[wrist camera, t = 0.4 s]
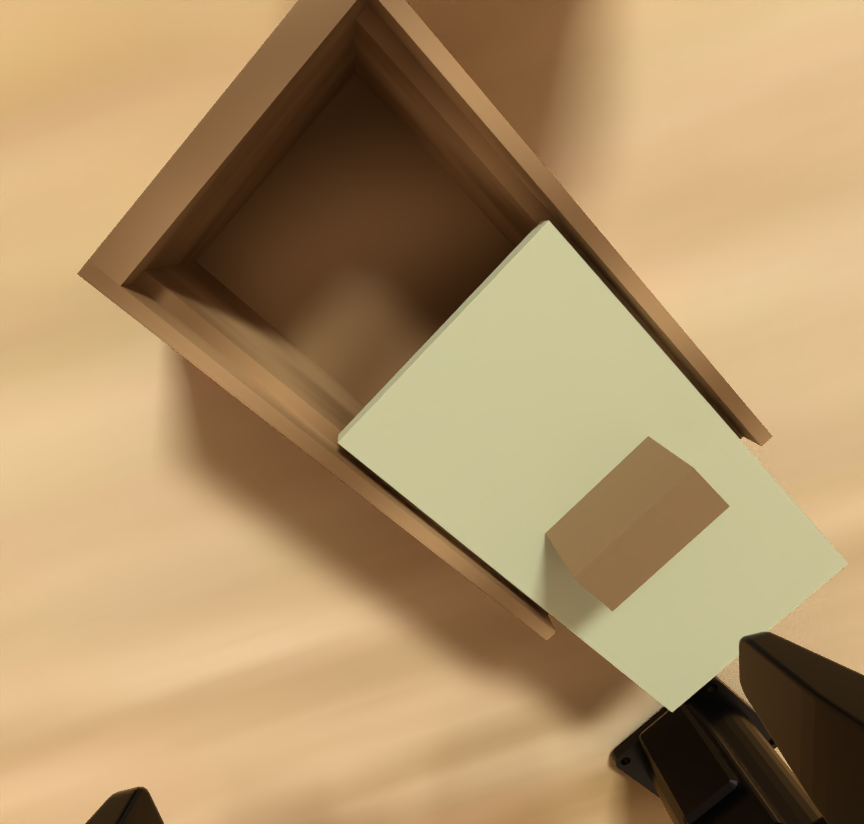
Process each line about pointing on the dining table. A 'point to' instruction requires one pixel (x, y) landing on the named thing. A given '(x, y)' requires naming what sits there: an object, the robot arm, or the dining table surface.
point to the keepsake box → (352, 239)
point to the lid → (592, 474)
